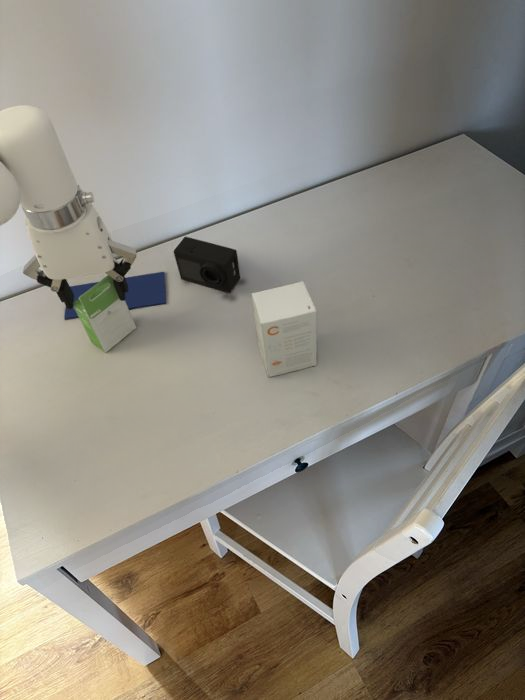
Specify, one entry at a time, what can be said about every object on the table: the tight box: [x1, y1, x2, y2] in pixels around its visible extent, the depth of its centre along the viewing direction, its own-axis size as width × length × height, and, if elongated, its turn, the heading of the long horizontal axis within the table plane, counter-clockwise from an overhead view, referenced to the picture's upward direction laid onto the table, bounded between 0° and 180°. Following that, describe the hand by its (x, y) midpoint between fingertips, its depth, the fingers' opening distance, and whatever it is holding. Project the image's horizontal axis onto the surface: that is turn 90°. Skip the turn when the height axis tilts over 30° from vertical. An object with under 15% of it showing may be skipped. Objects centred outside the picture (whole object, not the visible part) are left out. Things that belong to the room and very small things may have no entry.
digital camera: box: [173, 236, 241, 294], centre depth 95 cm, size 10×5×7 cm, turn 65°
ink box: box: [72, 275, 137, 353], centre depth 86 cm, size 7×4×13 cm, turn 139°
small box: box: [251, 280, 318, 378], centre depth 81 cm, size 8×6×13 cm
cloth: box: [63, 271, 167, 321], centre depth 97 cm, size 18×8×1 cm, turn 98°
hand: (97, 298), depth 84 cm, fingers closed on ink box, 7 cm apart
